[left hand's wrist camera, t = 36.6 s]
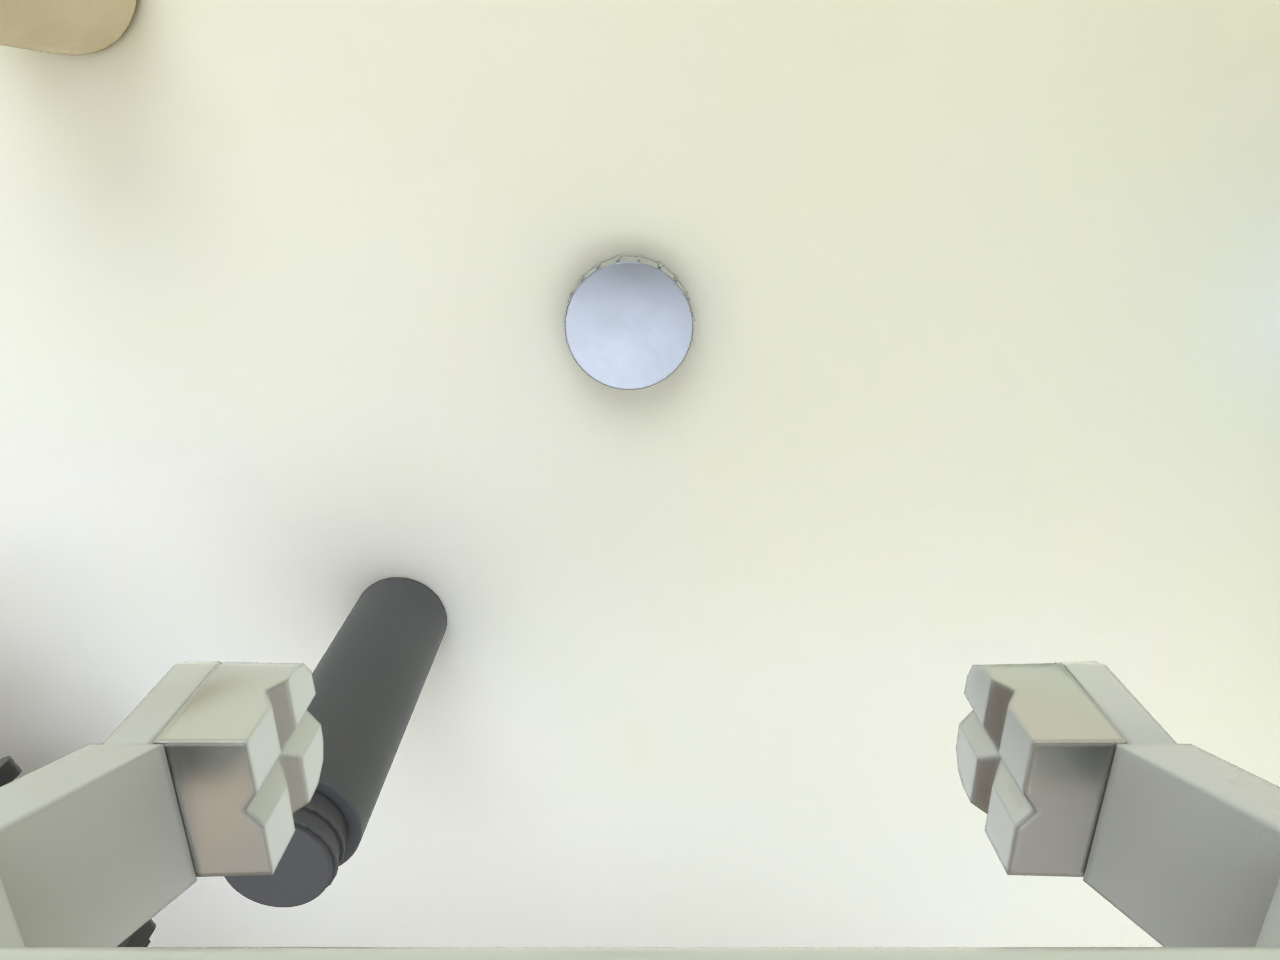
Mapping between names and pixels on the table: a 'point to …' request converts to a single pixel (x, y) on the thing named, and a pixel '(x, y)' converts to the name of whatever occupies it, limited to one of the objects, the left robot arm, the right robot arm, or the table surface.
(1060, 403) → the table surface
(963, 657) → the table surface
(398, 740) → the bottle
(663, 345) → the lid
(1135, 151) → the table surface
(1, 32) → the candle
